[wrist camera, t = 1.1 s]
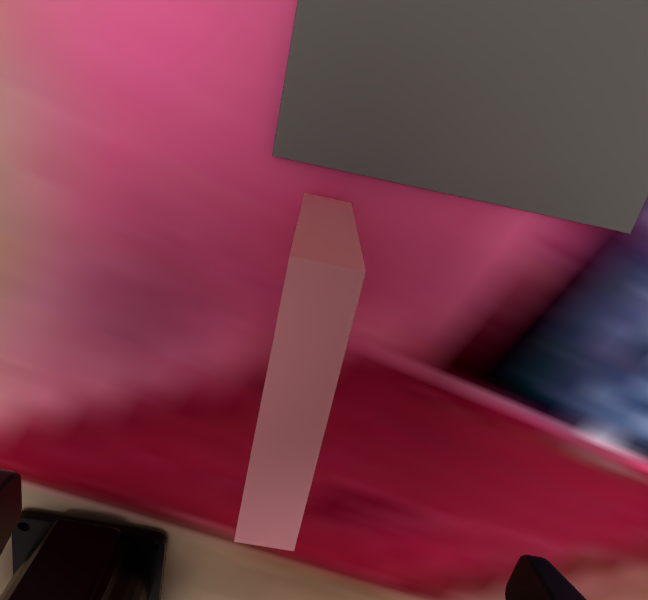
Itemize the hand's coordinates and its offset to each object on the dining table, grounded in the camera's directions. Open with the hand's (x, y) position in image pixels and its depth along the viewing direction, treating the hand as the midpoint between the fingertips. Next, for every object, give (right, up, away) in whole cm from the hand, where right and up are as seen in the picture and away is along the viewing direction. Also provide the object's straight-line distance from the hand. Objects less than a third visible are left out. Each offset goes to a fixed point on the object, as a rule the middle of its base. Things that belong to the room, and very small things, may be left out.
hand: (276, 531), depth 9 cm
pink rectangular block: (0, +4, +9) cm, 10 cm away
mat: (+6, +12, +6) cm, 15 cm away
